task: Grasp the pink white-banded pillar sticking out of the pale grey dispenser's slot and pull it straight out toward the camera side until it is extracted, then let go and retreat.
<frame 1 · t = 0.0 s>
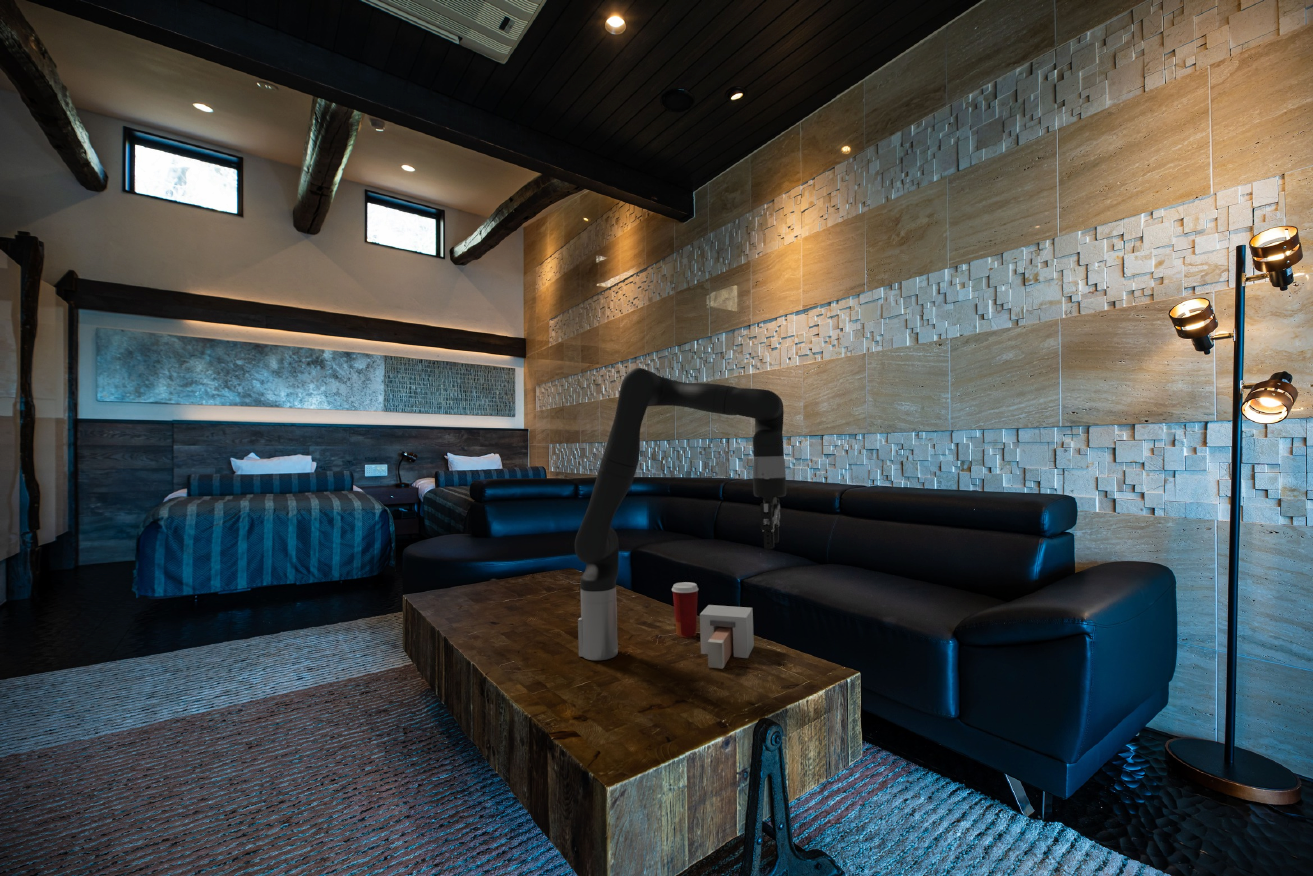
hand: (771, 545, 126), 29 cm above the table, fingers open, 8 cm apart
paper cup: (686, 635, 154), on the table
pink white-banded pillar: (722, 643, 136), point 3 cm above the table, slide at 0.0 cm
dispenser: (727, 649, 141), on the table
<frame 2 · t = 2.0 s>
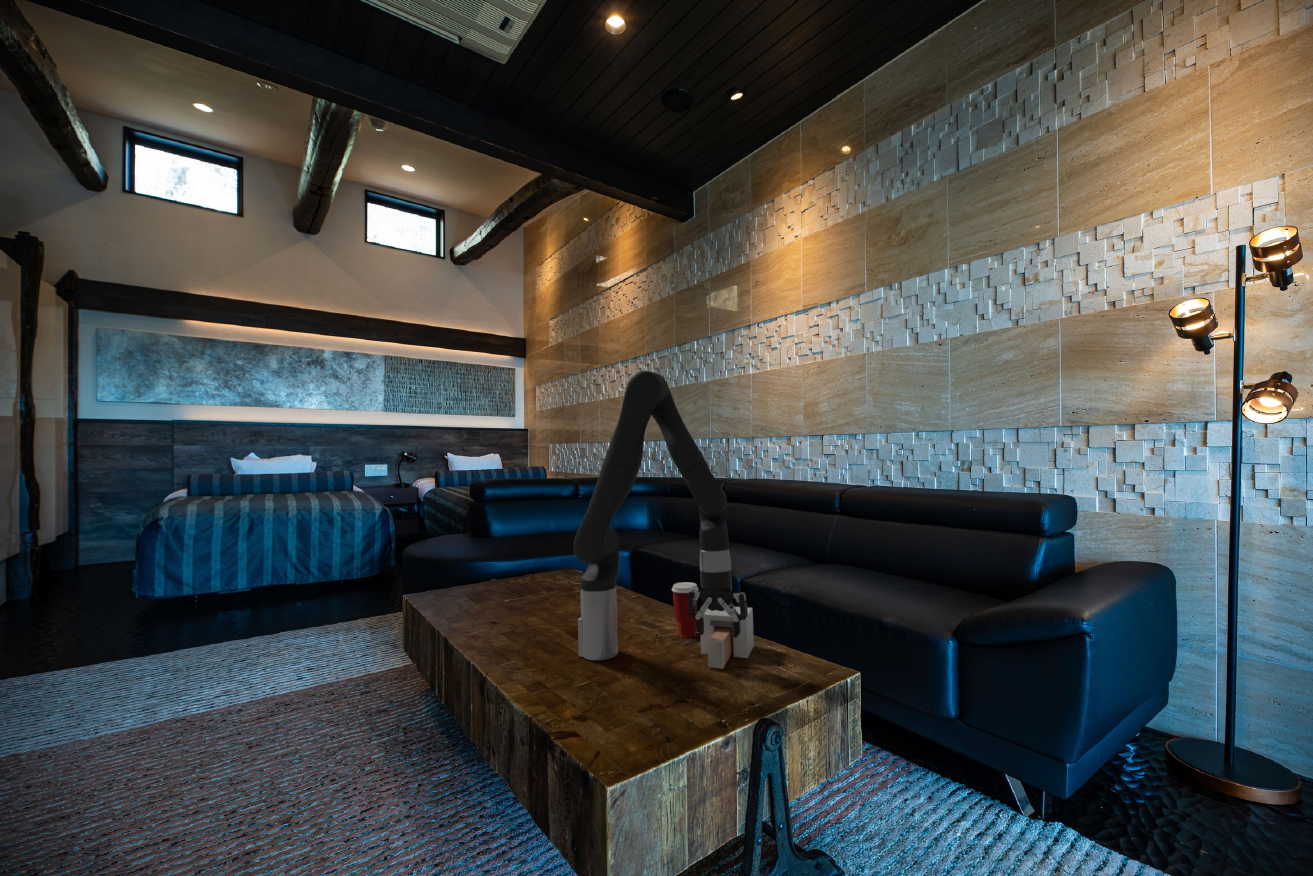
hand: (718, 635, 131), 7 cm above the table, fingers open, 8 cm apart
nothing on the table moved.
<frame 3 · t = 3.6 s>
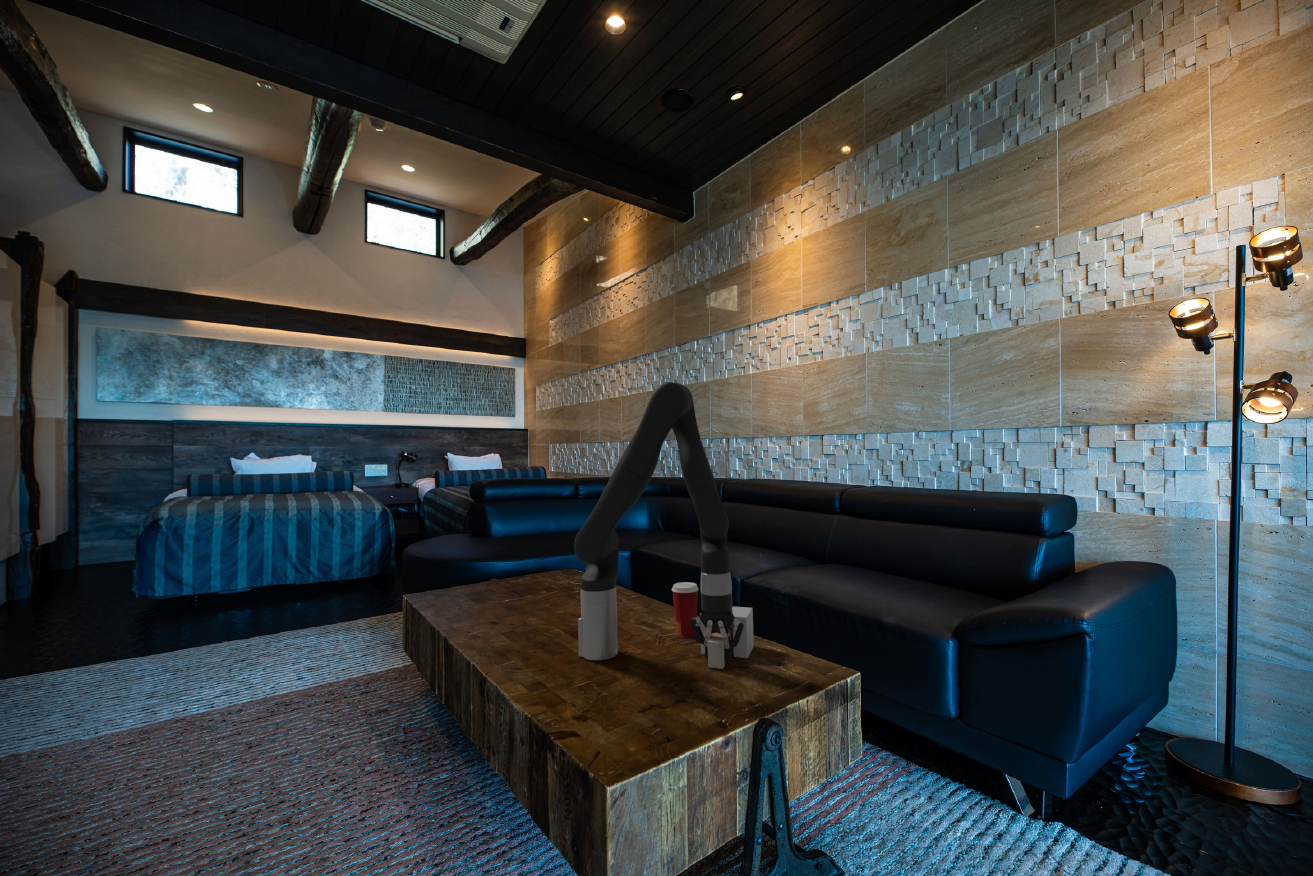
hand: (718, 661, 131), 1 cm above the table, fingers closed on pink white-banded pillar, 3 cm apart
pink white-banded pillar: (722, 643, 136), point 3 cm above the table, slide at 0.0 cm, touching gripper
everything else where it was.
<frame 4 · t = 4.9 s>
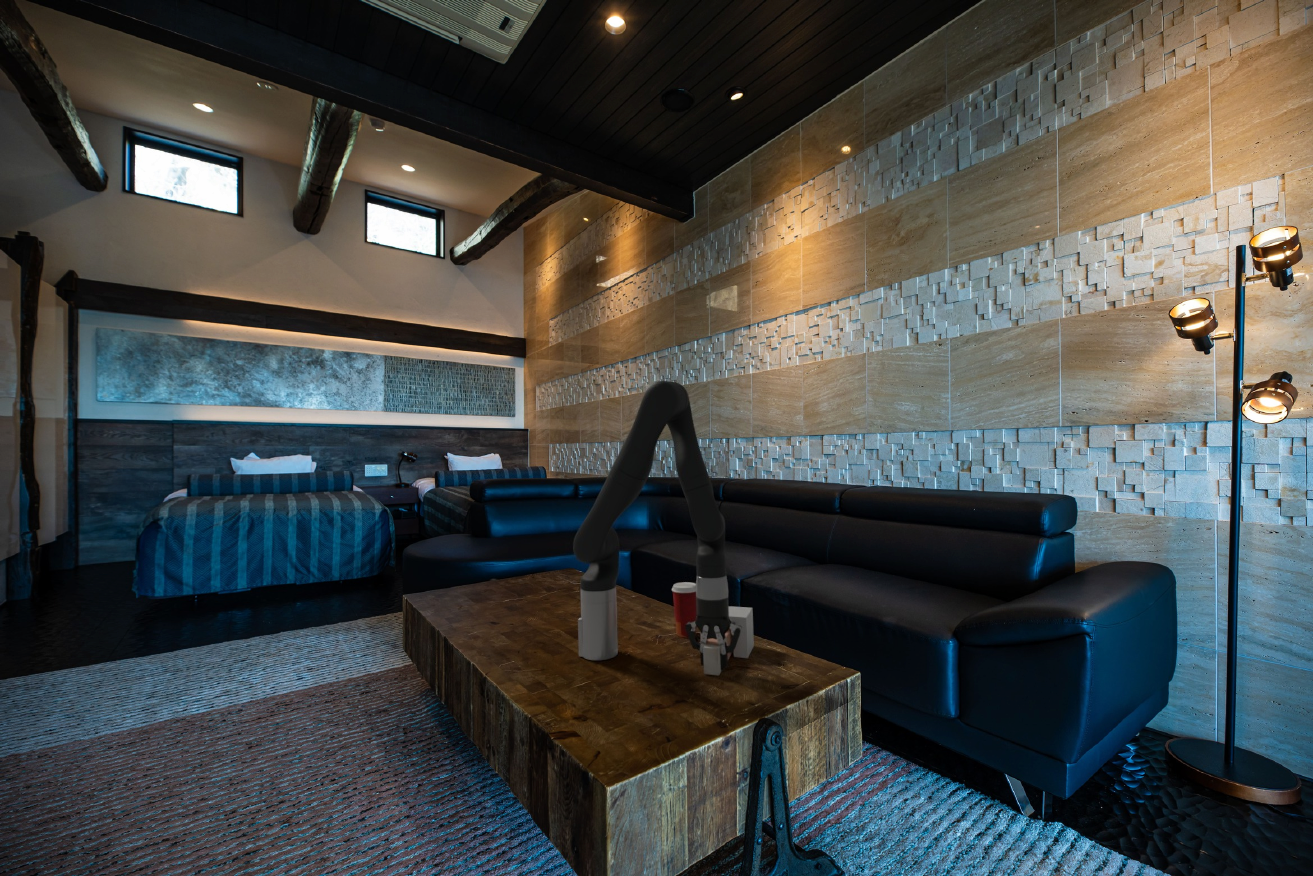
hand: (714, 668, 127), 1 cm above the table, fingers closed on pink white-banded pillar, 3 cm apart
pink white-banded pillar: (719, 649, 132), point 3 cm above the table, slide at 4.0 cm, touching gripper
everything else where it was.
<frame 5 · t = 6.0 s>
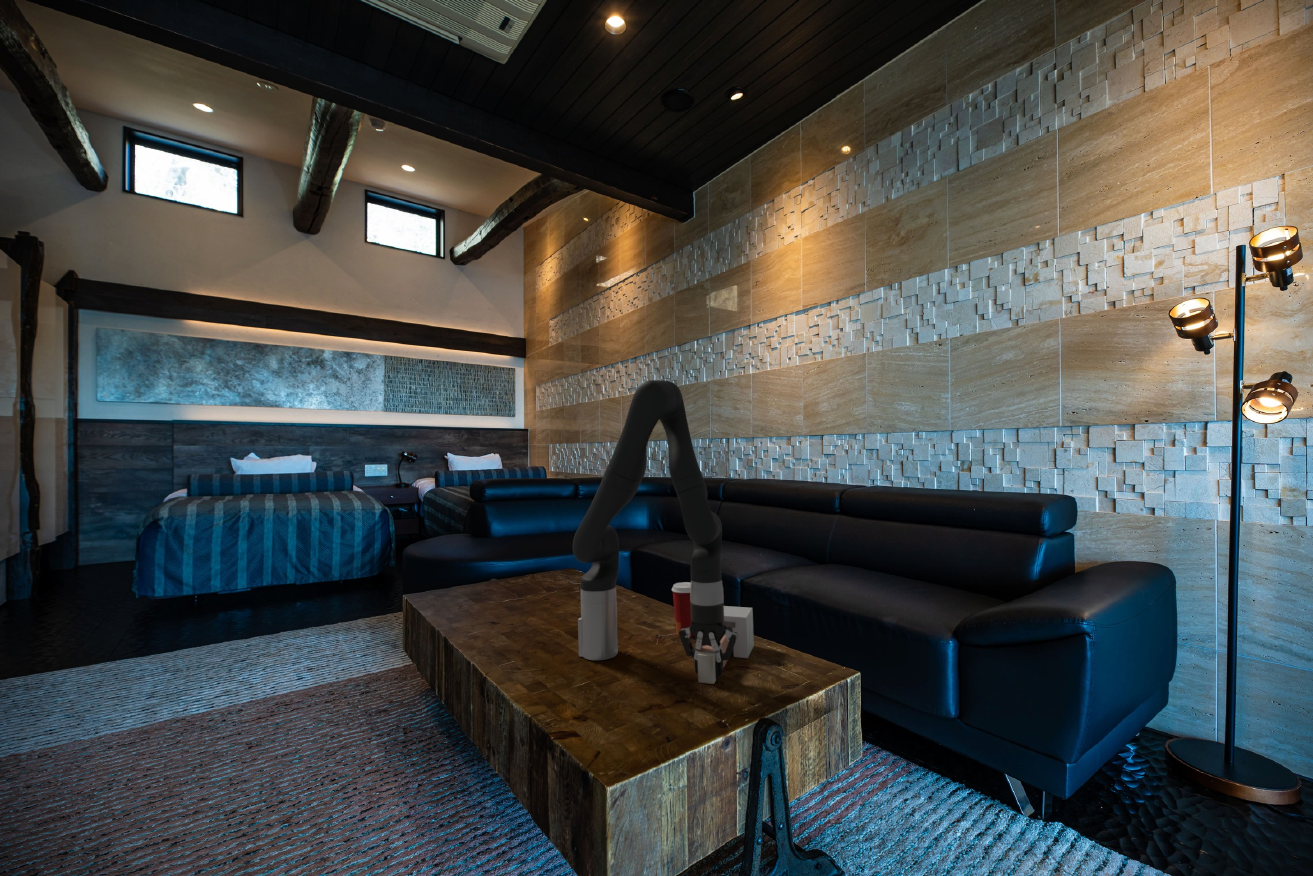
hand: (709, 676, 123), 1 cm above the table, fingers closed on pink white-banded pillar, 3 cm apart
pink white-banded pillar: (714, 656, 128), point 3 cm above the table, slide at 8.9 cm, touching gripper
everything else where it was.
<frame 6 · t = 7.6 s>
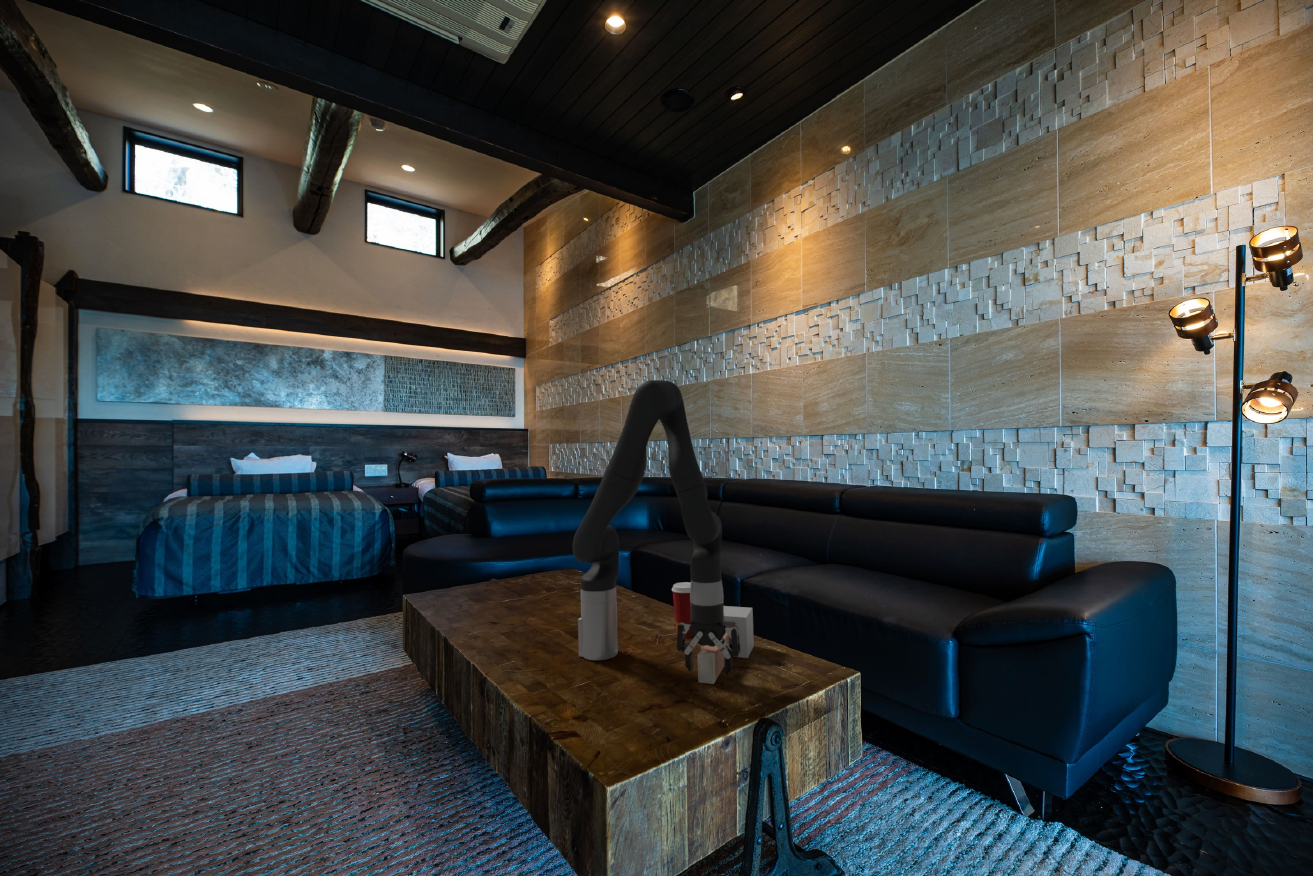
hand: (709, 672, 123), 2 cm above the table, fingers open, 8 cm apart
pink white-banded pillar: (714, 656, 128), point 3 cm above the table, slide at 8.9 cm
everything else where it was.
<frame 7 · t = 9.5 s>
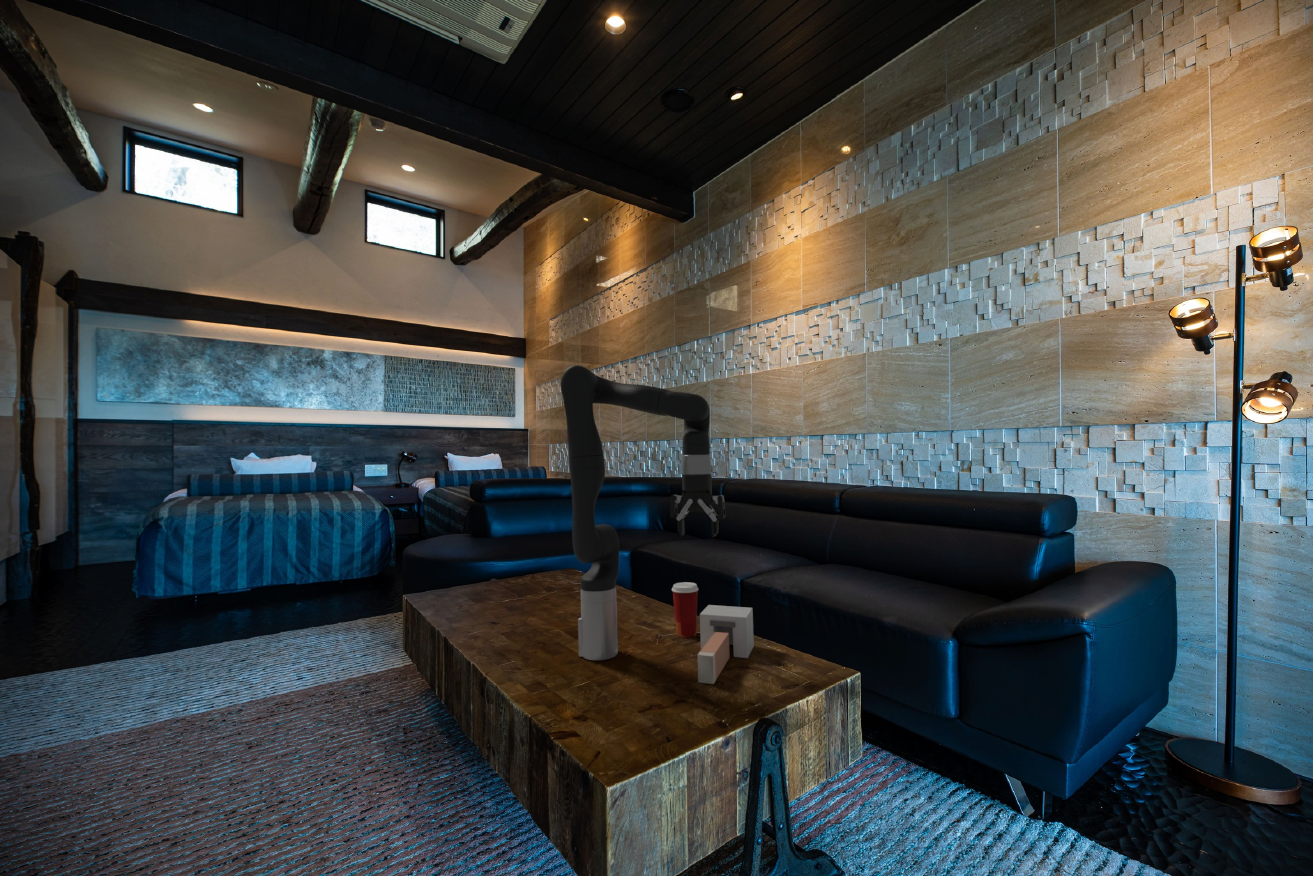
hand: (698, 535, 139), 30 cm above the table, fingers open, 8 cm apart
nothing on the table moved.
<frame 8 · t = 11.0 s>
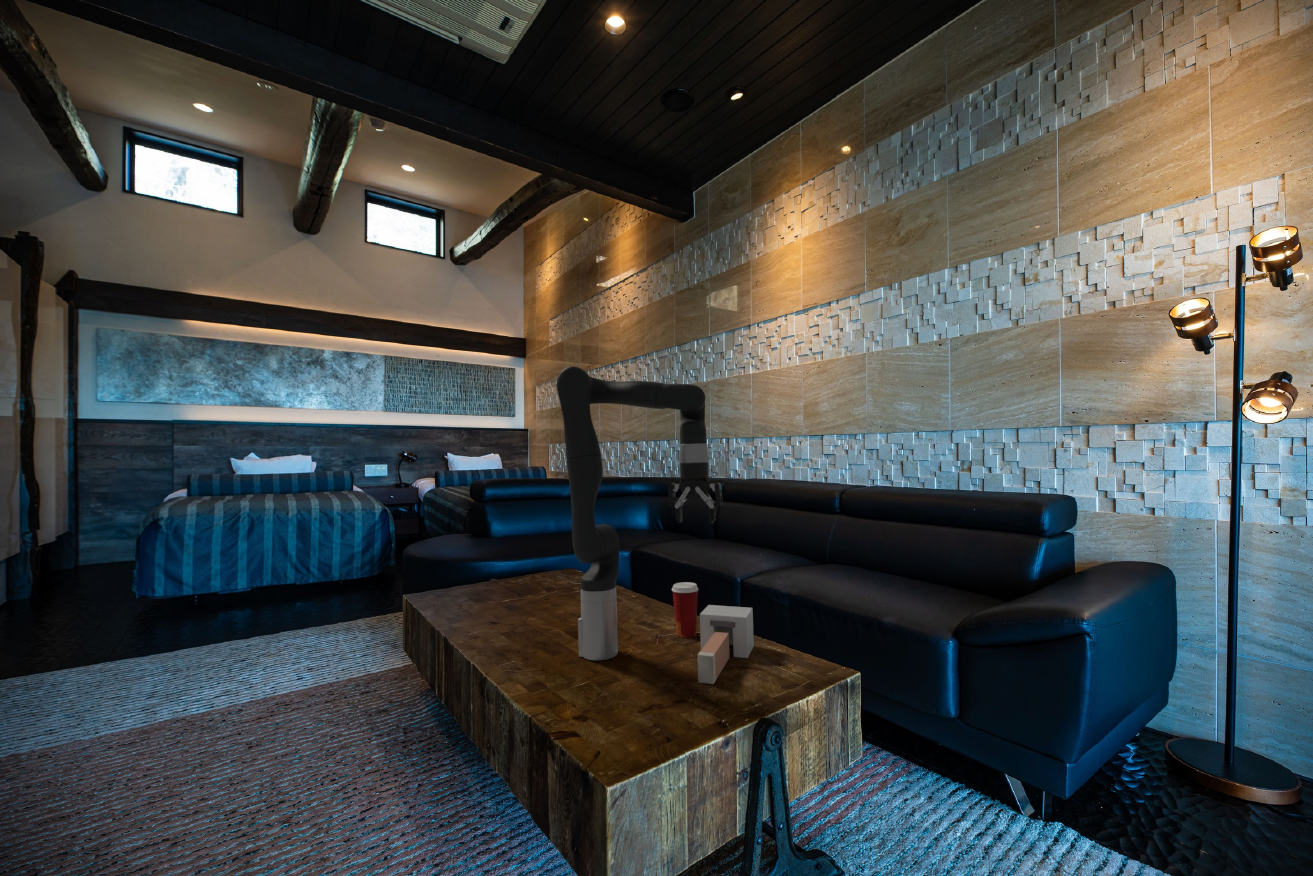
hand: (695, 522, 143), 33 cm above the table, fingers open, 8 cm apart
nothing on the table moved.
at the end: pink white-banded pillar slide at 8.9 cm; the gripper is holding nothing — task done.
